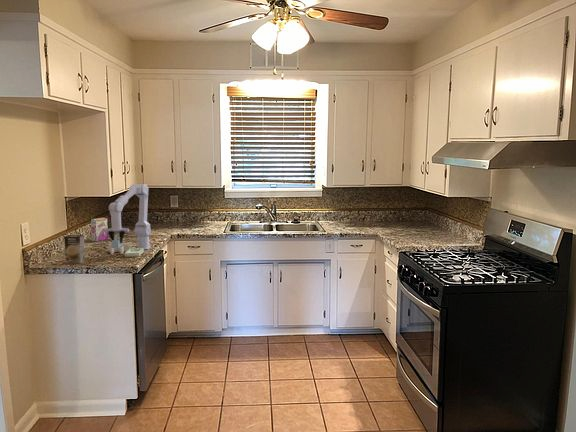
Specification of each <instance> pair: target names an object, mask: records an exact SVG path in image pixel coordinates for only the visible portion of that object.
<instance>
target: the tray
mask: <svg viewBox="0 0 576 432" xmlns="http://www.w3.org/2000/svg"><path fill="white" fill-rule="evenodd" d="M144 250H145V249H144V248H138V247H135V248H133V247H130V249H129V250H128V251H125V252H124V258H139V257H140V256H141V255H142V254H143V253H144V252H145V251H144Z"/></svg>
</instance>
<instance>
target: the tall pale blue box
mask: <svg viewBox="0 0 576 432" xmlns="http://www.w3.org/2000/svg"><path fill="white" fill-rule="evenodd" d="M122 243H123V242H122ZM122 243H120V235H119V233H117V234H114V240H112V239H111V240H110V244H111V246H112V248H119V247H120V246H122Z"/></svg>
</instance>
